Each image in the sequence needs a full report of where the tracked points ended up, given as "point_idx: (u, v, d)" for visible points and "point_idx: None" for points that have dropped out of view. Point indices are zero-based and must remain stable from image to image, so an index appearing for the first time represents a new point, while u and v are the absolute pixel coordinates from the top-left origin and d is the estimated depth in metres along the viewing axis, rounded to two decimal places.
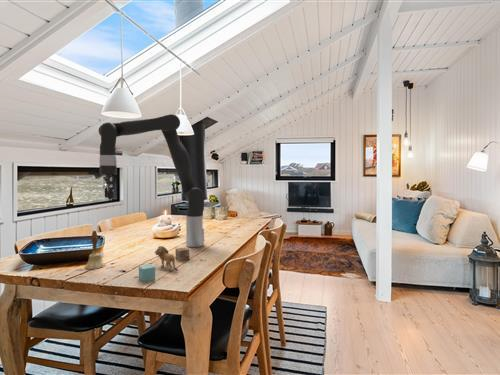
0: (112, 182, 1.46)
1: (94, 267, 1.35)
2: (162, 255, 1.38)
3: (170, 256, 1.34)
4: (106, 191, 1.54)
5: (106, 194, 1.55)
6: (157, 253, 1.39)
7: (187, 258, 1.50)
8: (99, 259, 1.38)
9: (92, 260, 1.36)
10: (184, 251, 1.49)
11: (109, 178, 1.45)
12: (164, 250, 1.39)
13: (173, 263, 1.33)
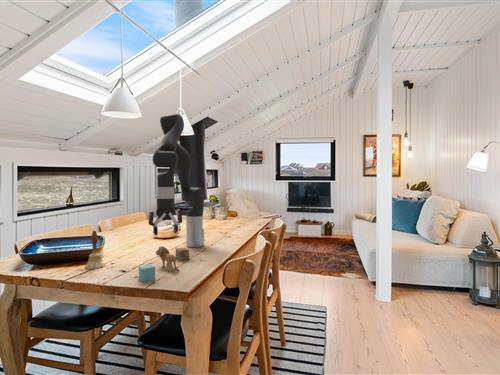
0: None
1: (94, 267, 1.35)
2: (163, 255, 1.38)
3: (171, 256, 1.33)
4: None
5: None
6: (158, 253, 1.39)
7: (187, 258, 1.50)
8: (99, 259, 1.38)
9: (92, 260, 1.36)
10: (184, 251, 1.49)
11: None
12: (165, 250, 1.38)
13: (174, 263, 1.32)
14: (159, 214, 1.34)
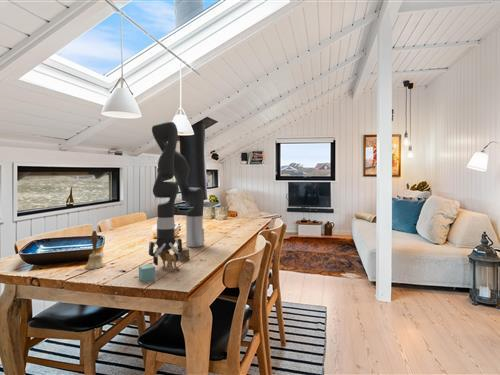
0: None
1: (94, 267, 1.35)
2: (163, 255, 1.38)
3: (171, 256, 1.33)
4: None
5: None
6: None
7: (187, 258, 1.50)
8: (99, 259, 1.38)
9: (92, 260, 1.36)
10: (184, 251, 1.49)
11: None
12: (165, 250, 1.38)
13: (174, 264, 1.32)
14: (159, 244, 1.34)
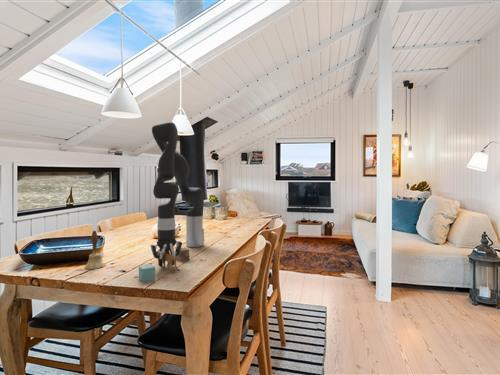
0: None
1: (94, 267, 1.35)
2: (163, 256, 1.37)
3: (172, 256, 1.33)
4: None
5: None
6: None
7: (187, 258, 1.50)
8: (99, 259, 1.38)
9: (92, 260, 1.36)
10: (184, 251, 1.49)
11: None
12: None
13: (175, 264, 1.32)
14: (160, 246, 1.35)
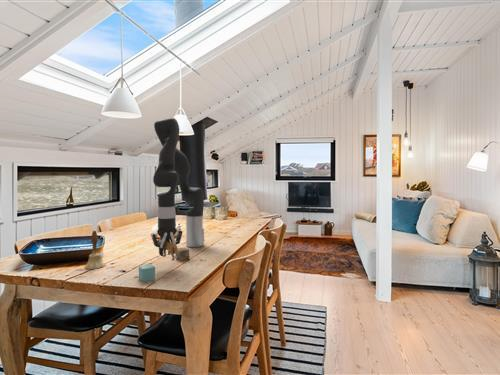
0: None
1: (94, 267, 1.35)
2: (164, 244, 1.37)
3: (172, 245, 1.33)
4: None
5: None
6: None
7: (187, 258, 1.50)
8: (99, 259, 1.38)
9: (92, 260, 1.36)
10: (184, 251, 1.49)
11: None
12: None
13: (175, 252, 1.32)
14: (161, 235, 1.34)
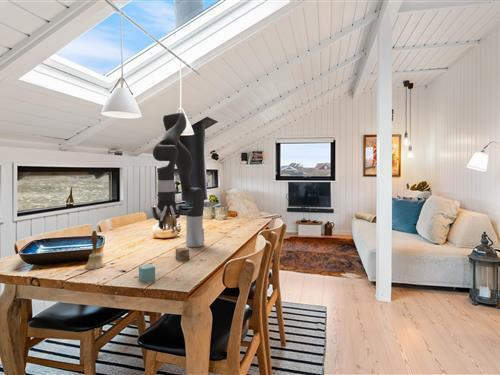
0: None
1: (94, 267, 1.35)
2: (164, 218, 1.39)
3: (172, 218, 1.34)
4: None
5: None
6: None
7: (187, 258, 1.50)
8: (99, 259, 1.38)
9: (92, 260, 1.36)
10: (184, 251, 1.49)
11: None
12: (166, 213, 1.39)
13: (175, 225, 1.33)
14: (161, 208, 1.36)
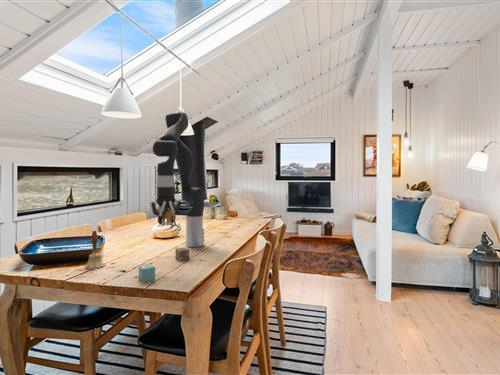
0: None
1: (94, 267, 1.35)
2: (163, 213, 1.39)
3: (171, 213, 1.35)
4: None
5: None
6: None
7: (187, 258, 1.50)
8: (99, 259, 1.38)
9: (92, 260, 1.36)
10: (184, 251, 1.49)
11: None
12: None
13: (174, 219, 1.34)
14: (160, 203, 1.37)
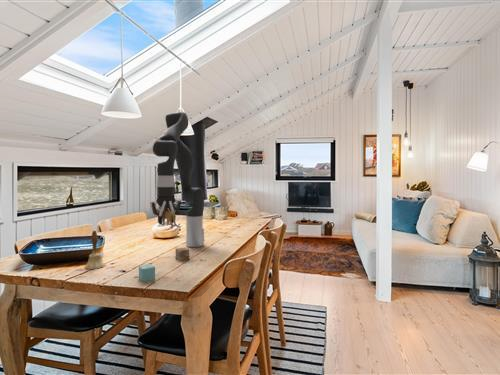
0: None
1: (94, 267, 1.35)
2: (163, 213, 1.39)
3: (171, 213, 1.35)
4: None
5: None
6: None
7: (187, 258, 1.50)
8: (99, 259, 1.38)
9: (92, 260, 1.36)
10: (184, 251, 1.49)
11: None
12: None
13: (174, 219, 1.34)
14: (160, 203, 1.37)
